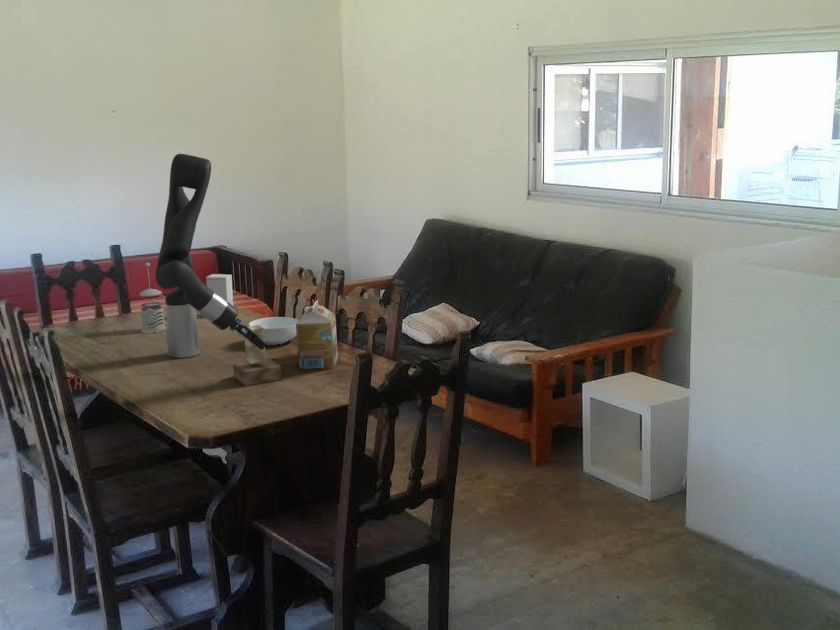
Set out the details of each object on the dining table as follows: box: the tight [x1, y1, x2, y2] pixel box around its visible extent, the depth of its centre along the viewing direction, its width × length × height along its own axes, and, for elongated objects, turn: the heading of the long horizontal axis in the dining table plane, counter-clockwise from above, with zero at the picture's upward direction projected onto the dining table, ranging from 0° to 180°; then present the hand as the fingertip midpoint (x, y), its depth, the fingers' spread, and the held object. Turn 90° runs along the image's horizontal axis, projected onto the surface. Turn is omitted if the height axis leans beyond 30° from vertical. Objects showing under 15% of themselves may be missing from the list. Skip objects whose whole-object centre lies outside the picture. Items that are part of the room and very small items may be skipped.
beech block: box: [244, 325, 267, 364], centre depth 273 cm, size 5×5×10 cm
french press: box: [138, 261, 167, 331], centre depth 340 cm, size 10×12×25 cm
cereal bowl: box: [248, 316, 299, 346], centre depth 316 cm, size 17×17×7 cm
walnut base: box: [232, 357, 282, 387], centre depth 275 cm, size 11×11×4 cm
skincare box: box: [205, 273, 234, 306], centre depth 361 cm, size 8×7×16 cm
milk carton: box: [296, 299, 339, 370], centre depth 286 cm, size 11×11×19 cm
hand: (261, 345), depth 274 cm, fingers closed on beech block, 4 cm apart
